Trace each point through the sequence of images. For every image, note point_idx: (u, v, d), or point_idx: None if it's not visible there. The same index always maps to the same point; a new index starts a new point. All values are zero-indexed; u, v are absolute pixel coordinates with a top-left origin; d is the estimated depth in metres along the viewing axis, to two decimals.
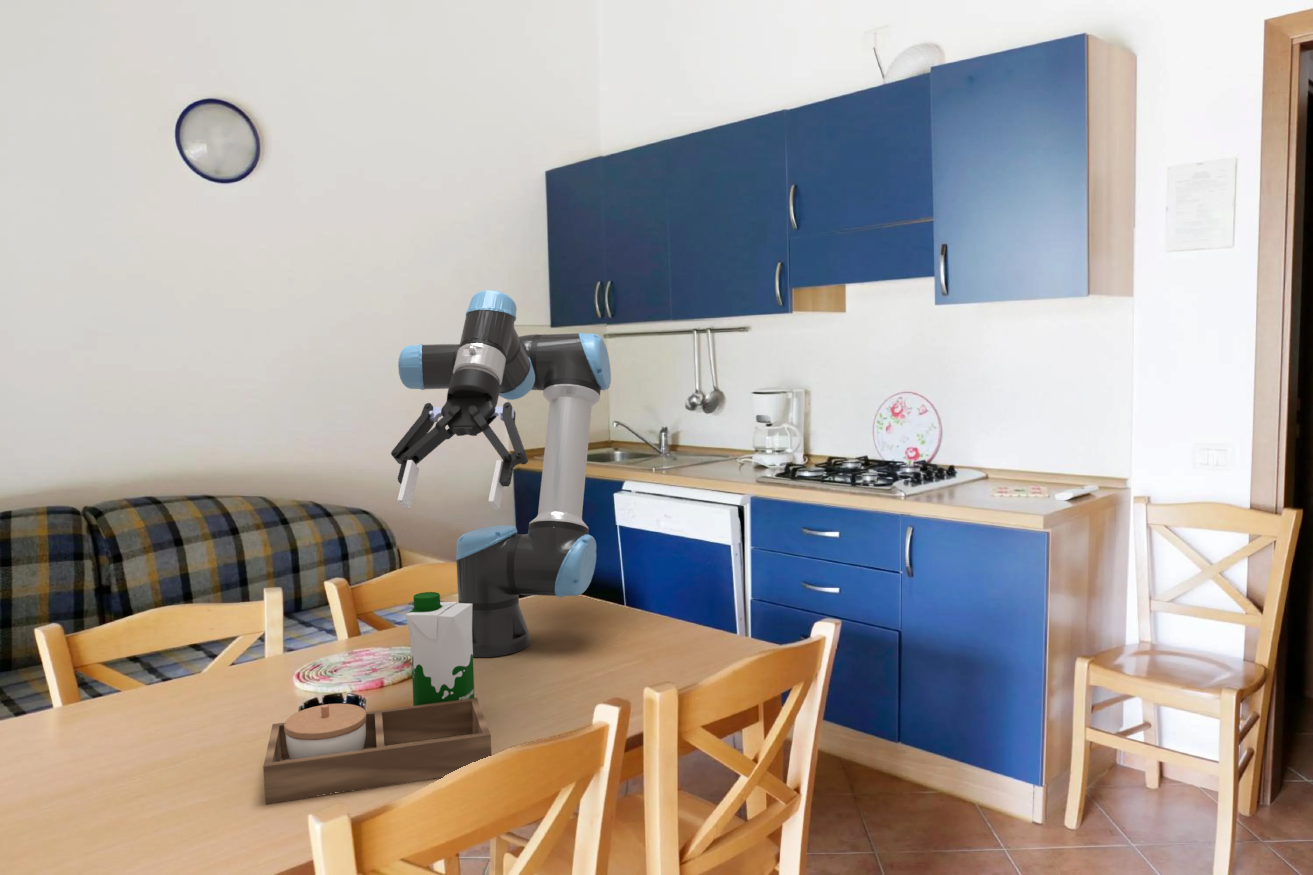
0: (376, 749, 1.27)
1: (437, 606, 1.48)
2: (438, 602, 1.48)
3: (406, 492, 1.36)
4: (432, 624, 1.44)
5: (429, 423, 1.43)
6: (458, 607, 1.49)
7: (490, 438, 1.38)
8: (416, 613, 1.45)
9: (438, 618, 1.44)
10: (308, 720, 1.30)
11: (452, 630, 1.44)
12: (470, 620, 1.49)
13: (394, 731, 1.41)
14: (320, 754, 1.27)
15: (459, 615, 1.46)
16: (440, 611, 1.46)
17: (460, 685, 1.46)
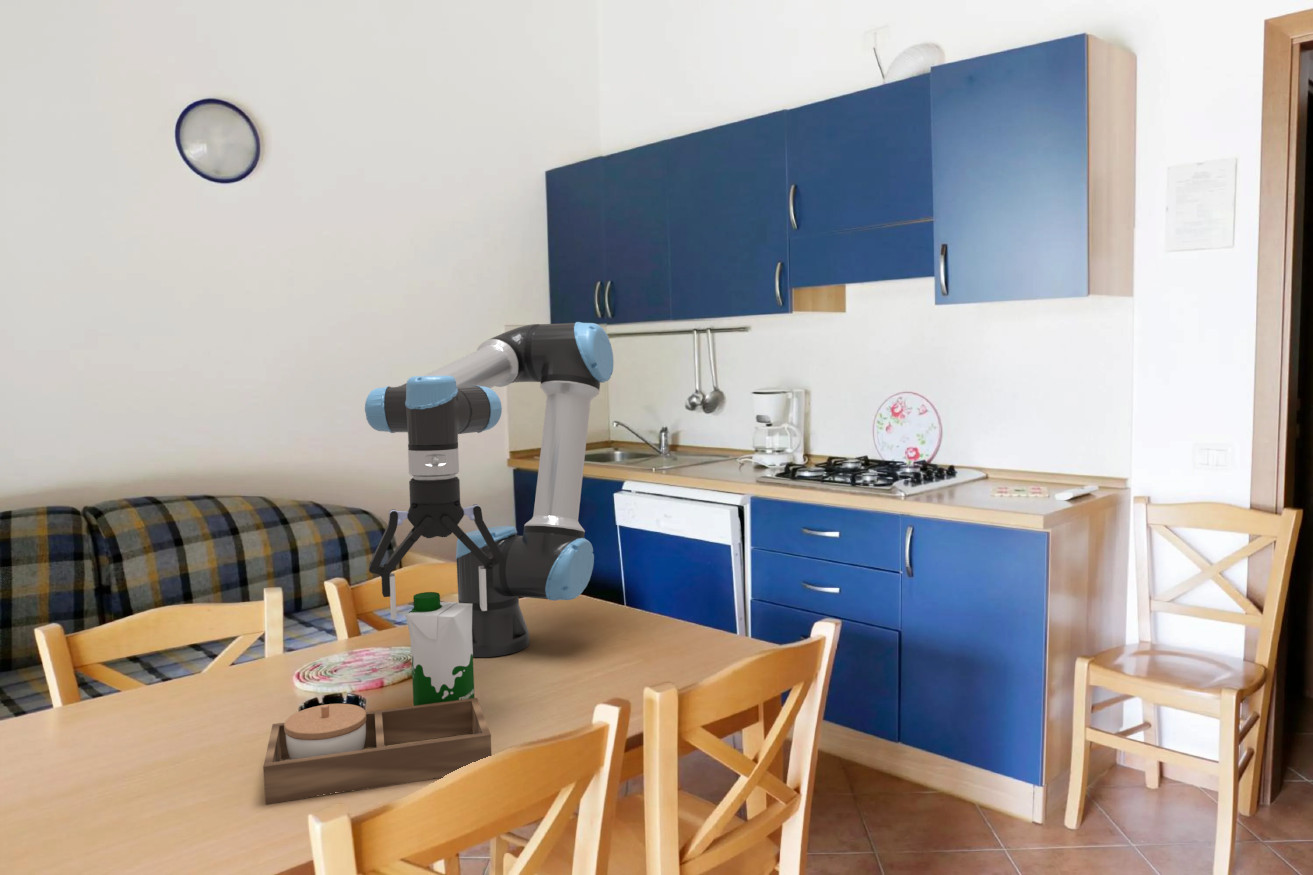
0: (376, 749, 1.27)
1: (437, 606, 1.48)
2: (438, 602, 1.48)
3: None
4: (432, 624, 1.44)
5: None
6: (458, 607, 1.49)
7: (468, 546, 1.47)
8: (416, 613, 1.45)
9: (438, 618, 1.44)
10: (308, 720, 1.30)
11: (452, 630, 1.44)
12: (470, 620, 1.49)
13: (394, 731, 1.41)
14: (320, 754, 1.27)
15: (459, 615, 1.46)
16: (440, 611, 1.46)
17: (460, 685, 1.46)
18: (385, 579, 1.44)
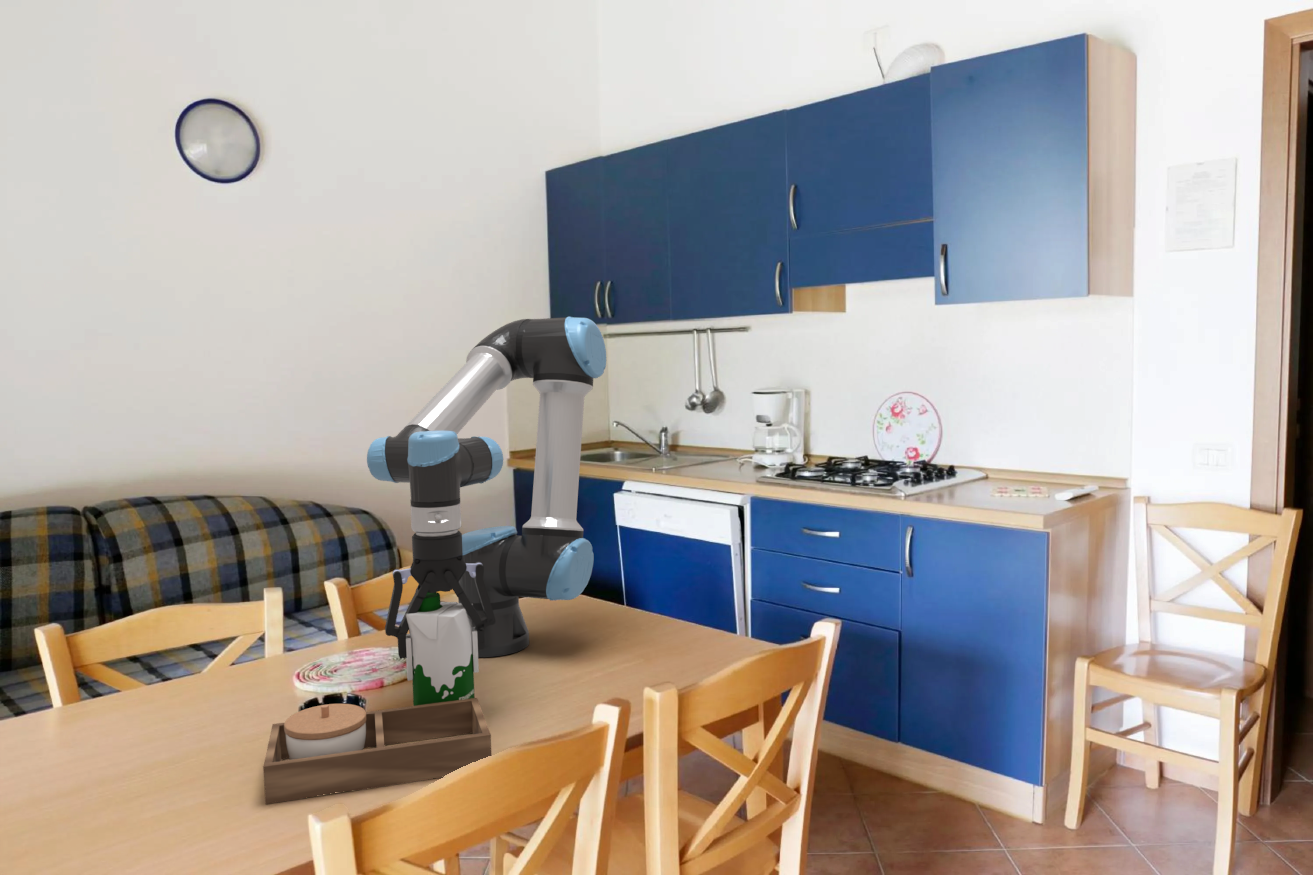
0: (376, 749, 1.27)
1: (437, 606, 1.47)
2: (438, 602, 1.48)
3: None
4: (432, 624, 1.44)
5: None
6: (458, 607, 1.49)
7: (464, 605, 1.48)
8: (416, 613, 1.45)
9: (438, 618, 1.44)
10: (308, 721, 1.30)
11: (452, 630, 1.44)
12: (470, 620, 1.49)
13: (394, 731, 1.41)
14: (320, 754, 1.27)
15: (459, 614, 1.46)
16: (440, 611, 1.46)
17: (460, 685, 1.46)
18: (401, 641, 1.46)
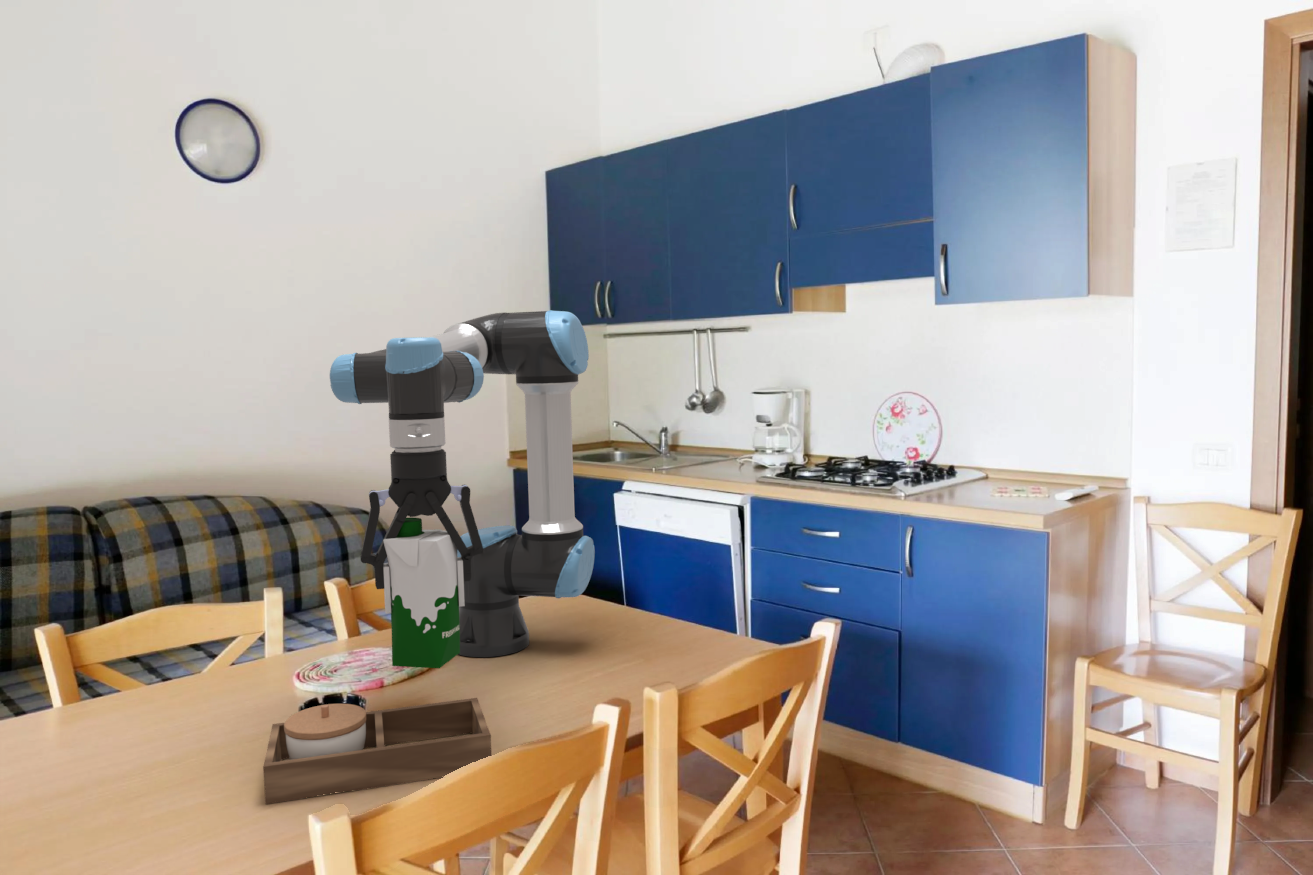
0: (376, 749, 1.27)
1: (418, 532, 1.33)
2: (420, 527, 1.33)
3: None
4: (412, 549, 1.30)
5: None
6: (442, 533, 1.34)
7: (449, 531, 1.34)
8: (395, 538, 1.31)
9: (419, 543, 1.30)
10: (308, 720, 1.30)
11: (434, 556, 1.30)
12: (455, 548, 1.35)
13: (394, 731, 1.41)
14: (320, 754, 1.27)
15: (443, 540, 1.31)
16: (421, 536, 1.31)
17: (444, 619, 1.32)
18: (378, 569, 1.31)
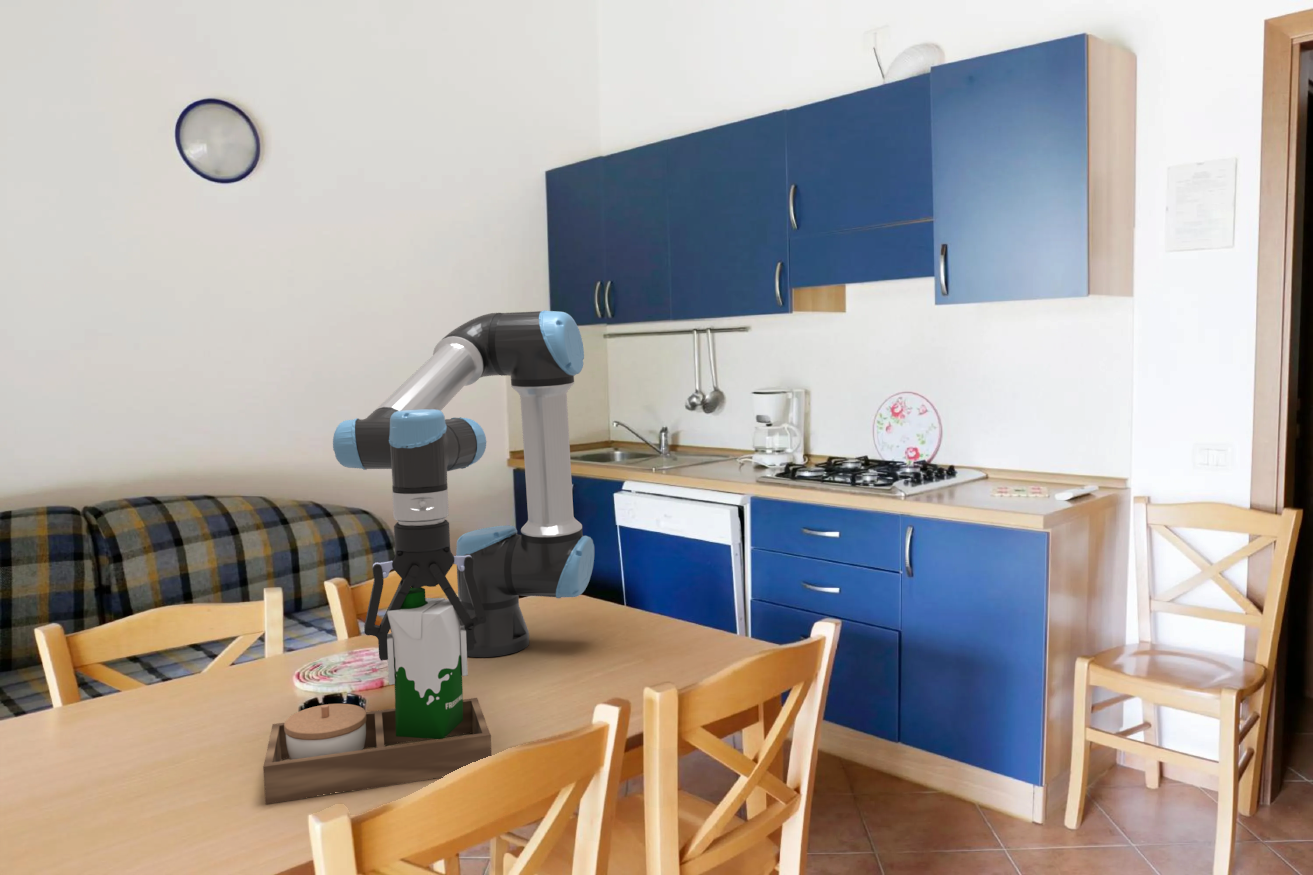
0: (376, 749, 1.27)
1: (422, 602, 1.34)
2: (423, 598, 1.34)
3: None
4: (416, 622, 1.30)
5: None
6: (445, 604, 1.35)
7: (452, 602, 1.34)
8: (398, 610, 1.32)
9: (422, 615, 1.30)
10: (308, 720, 1.30)
11: (438, 628, 1.30)
12: (458, 618, 1.35)
13: (394, 731, 1.41)
14: (320, 754, 1.27)
15: (446, 612, 1.32)
16: (425, 608, 1.32)
17: (447, 690, 1.32)
18: (382, 641, 1.32)
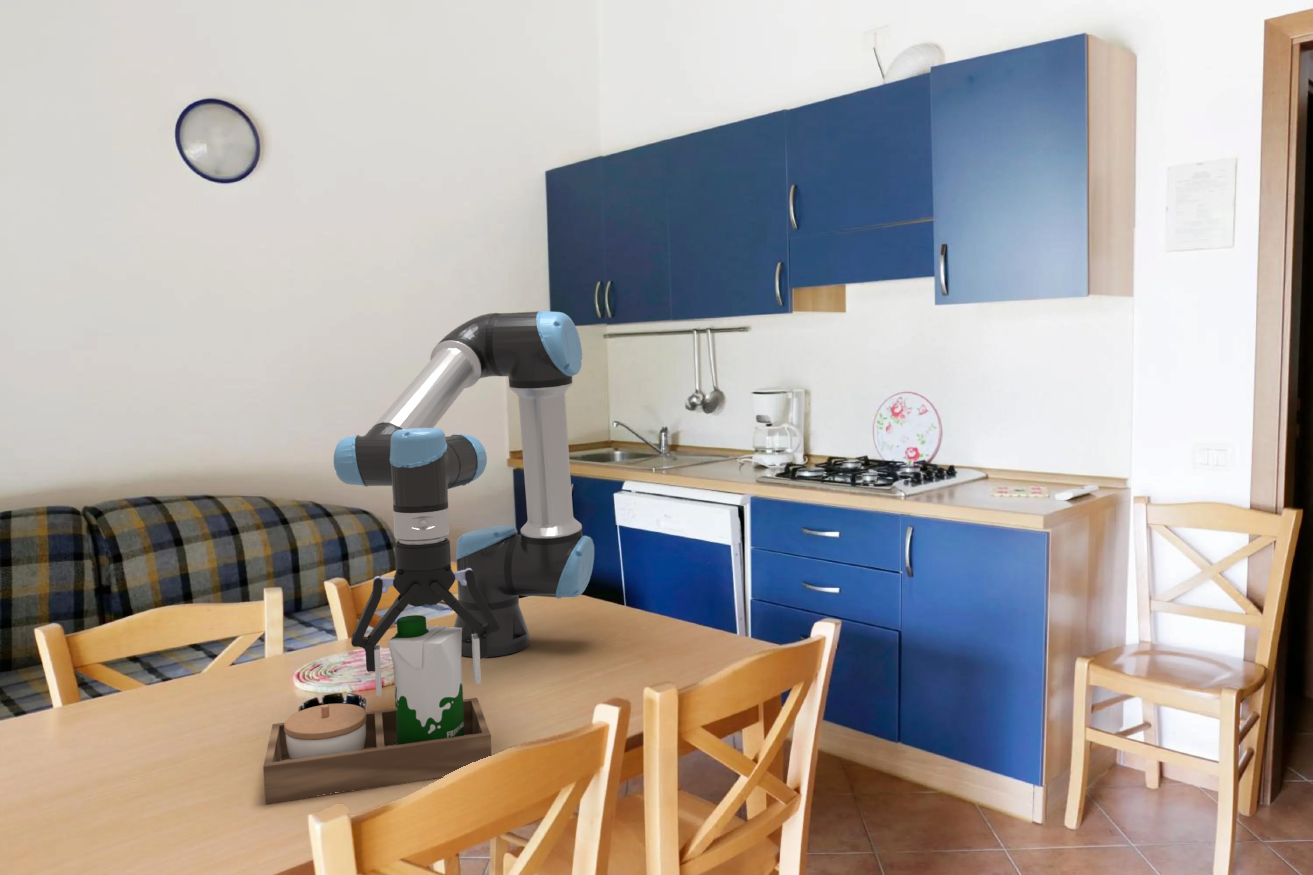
0: (376, 749, 1.27)
1: (423, 631, 1.34)
2: (424, 627, 1.35)
3: (381, 683, 1.33)
4: (417, 651, 1.31)
5: None
6: (446, 632, 1.35)
7: (460, 614, 1.35)
8: (399, 639, 1.32)
9: (423, 645, 1.31)
10: (308, 720, 1.30)
11: (439, 658, 1.31)
12: (459, 646, 1.36)
13: (394, 731, 1.41)
14: (320, 754, 1.27)
15: (447, 641, 1.33)
16: (426, 637, 1.33)
17: (448, 718, 1.33)
18: (369, 652, 1.32)
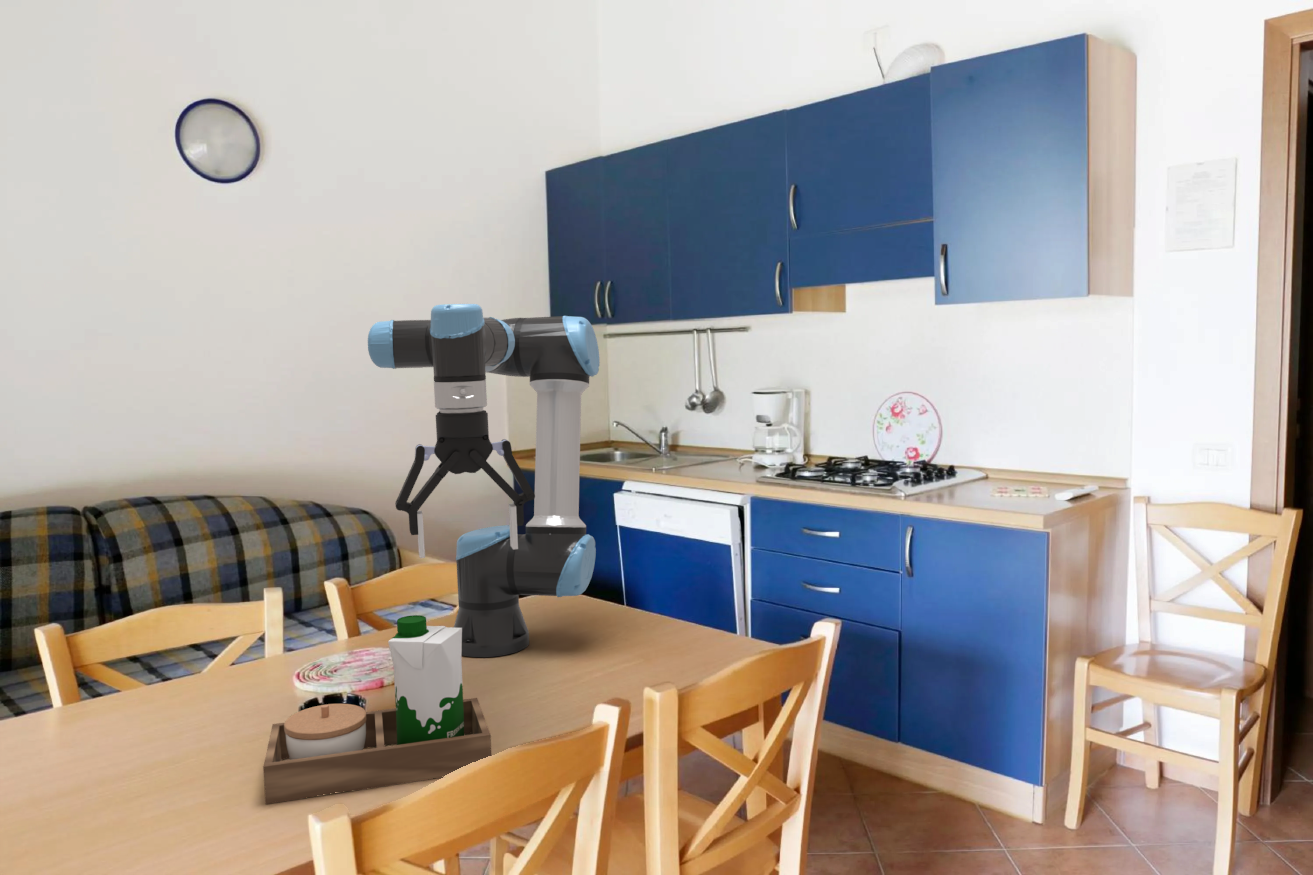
0: (376, 749, 1.27)
1: (423, 631, 1.34)
2: (424, 627, 1.35)
3: (424, 546, 1.40)
4: (417, 651, 1.31)
5: None
6: (446, 632, 1.35)
7: (498, 483, 1.42)
8: (400, 639, 1.32)
9: (424, 645, 1.31)
10: (308, 720, 1.30)
11: (439, 658, 1.31)
12: (459, 646, 1.36)
13: (394, 731, 1.41)
14: (320, 754, 1.27)
15: (447, 641, 1.33)
16: (426, 637, 1.33)
17: (448, 718, 1.33)
18: (412, 516, 1.39)
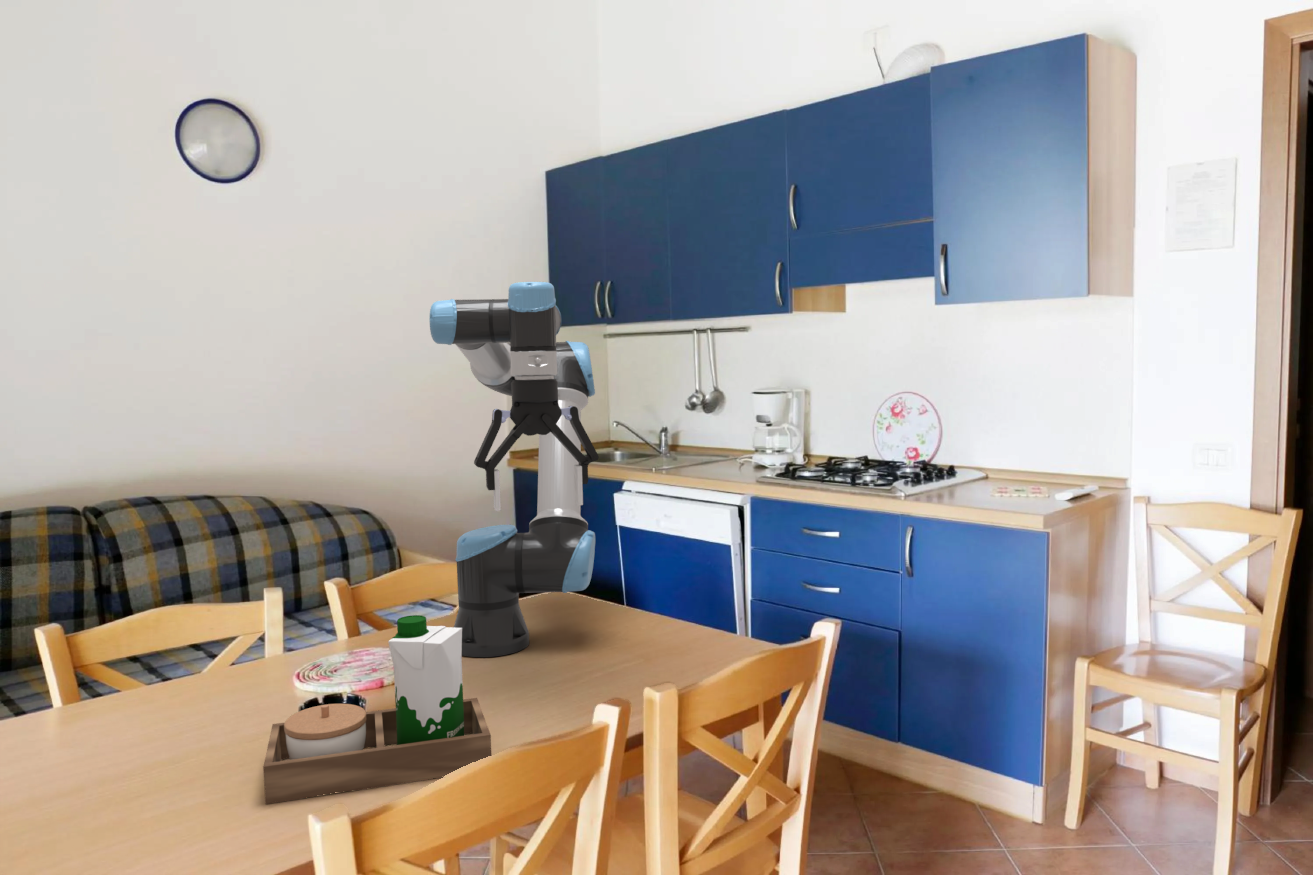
0: (376, 749, 1.27)
1: (423, 631, 1.34)
2: (424, 627, 1.35)
3: (499, 500, 1.55)
4: (417, 651, 1.31)
5: None
6: (446, 632, 1.35)
7: (566, 444, 1.57)
8: (400, 639, 1.32)
9: (424, 645, 1.31)
10: (308, 720, 1.30)
11: (439, 658, 1.31)
12: (459, 646, 1.36)
13: (394, 731, 1.41)
14: (320, 754, 1.27)
15: (447, 641, 1.33)
16: (426, 637, 1.33)
17: (448, 718, 1.33)
18: (490, 473, 1.54)
